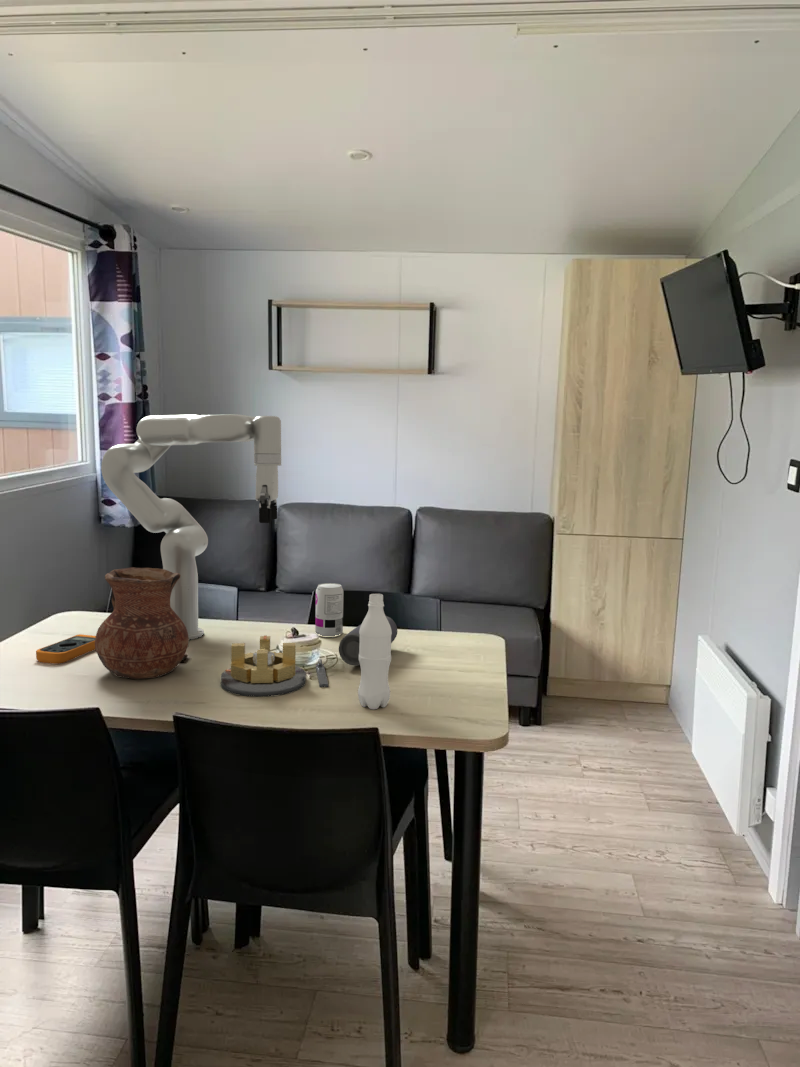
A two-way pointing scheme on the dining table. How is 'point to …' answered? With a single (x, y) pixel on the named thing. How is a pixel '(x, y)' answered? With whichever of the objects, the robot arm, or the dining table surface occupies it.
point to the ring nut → (263, 663)
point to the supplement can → (329, 609)
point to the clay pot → (141, 625)
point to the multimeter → (66, 649)
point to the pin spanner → (321, 674)
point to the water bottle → (374, 655)
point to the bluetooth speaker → (351, 644)
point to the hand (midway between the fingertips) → (268, 520)
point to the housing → (263, 688)
